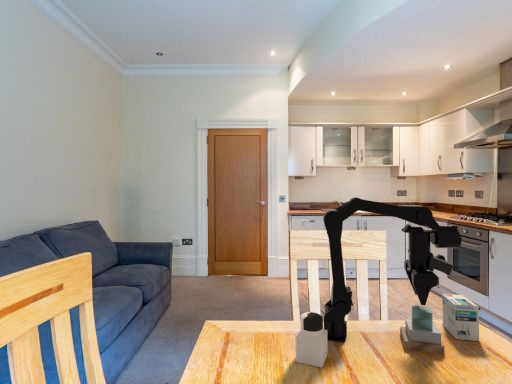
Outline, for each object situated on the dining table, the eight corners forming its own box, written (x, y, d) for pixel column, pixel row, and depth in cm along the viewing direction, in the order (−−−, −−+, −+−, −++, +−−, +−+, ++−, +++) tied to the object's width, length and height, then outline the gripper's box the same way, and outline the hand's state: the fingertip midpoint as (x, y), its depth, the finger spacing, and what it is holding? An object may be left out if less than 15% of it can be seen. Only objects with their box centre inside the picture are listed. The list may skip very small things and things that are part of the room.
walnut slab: (404, 351, 88) (404, 341, 88) (400, 335, 98) (400, 326, 98) (444, 357, 85) (444, 346, 85) (435, 340, 95) (435, 330, 95)
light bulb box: (480, 341, 92) (479, 306, 92) (455, 340, 94) (455, 304, 94) (463, 326, 103) (463, 294, 103) (441, 324, 104) (441, 293, 104)
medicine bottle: (327, 355, 86) (327, 312, 86) (322, 368, 79) (321, 322, 79) (303, 349, 89) (302, 308, 89) (295, 362, 82) (295, 317, 82)
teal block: (413, 327, 90) (412, 310, 90) (411, 321, 95) (411, 304, 95) (432, 330, 88) (432, 313, 88) (430, 323, 93) (430, 307, 93)
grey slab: (409, 340, 89) (409, 329, 89) (405, 328, 97) (405, 318, 97) (441, 344, 87) (441, 333, 87) (434, 331, 94) (434, 321, 94)
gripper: (460, 255, 81) (461, 314, 81) (441, 243, 98) (442, 292, 98) (413, 253, 84) (414, 310, 84) (403, 242, 102) (404, 289, 102)
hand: (420, 299), depth 92 cm, fingers open, 9 cm apart
